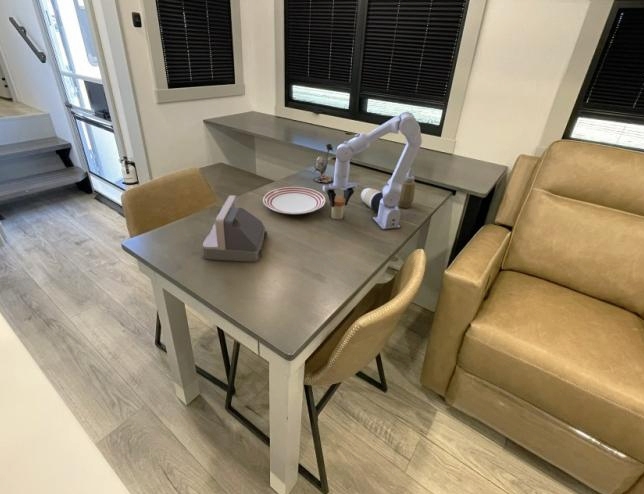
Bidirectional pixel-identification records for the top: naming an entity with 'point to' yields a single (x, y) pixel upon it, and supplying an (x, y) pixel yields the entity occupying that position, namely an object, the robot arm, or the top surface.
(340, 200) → the lid
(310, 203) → the dinner plate
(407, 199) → the squeeze bottle
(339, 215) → the jar
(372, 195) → the coffee cup
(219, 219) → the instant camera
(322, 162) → the plant with pod
